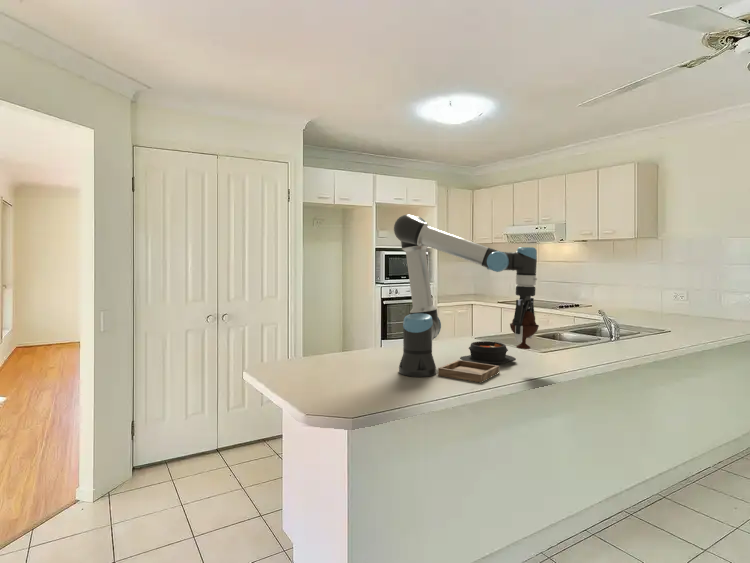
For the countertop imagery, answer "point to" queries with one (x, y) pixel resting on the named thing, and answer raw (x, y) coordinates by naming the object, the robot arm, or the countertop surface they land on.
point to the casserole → (488, 353)
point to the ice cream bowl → (526, 328)
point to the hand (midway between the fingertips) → (523, 339)
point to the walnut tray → (468, 370)
